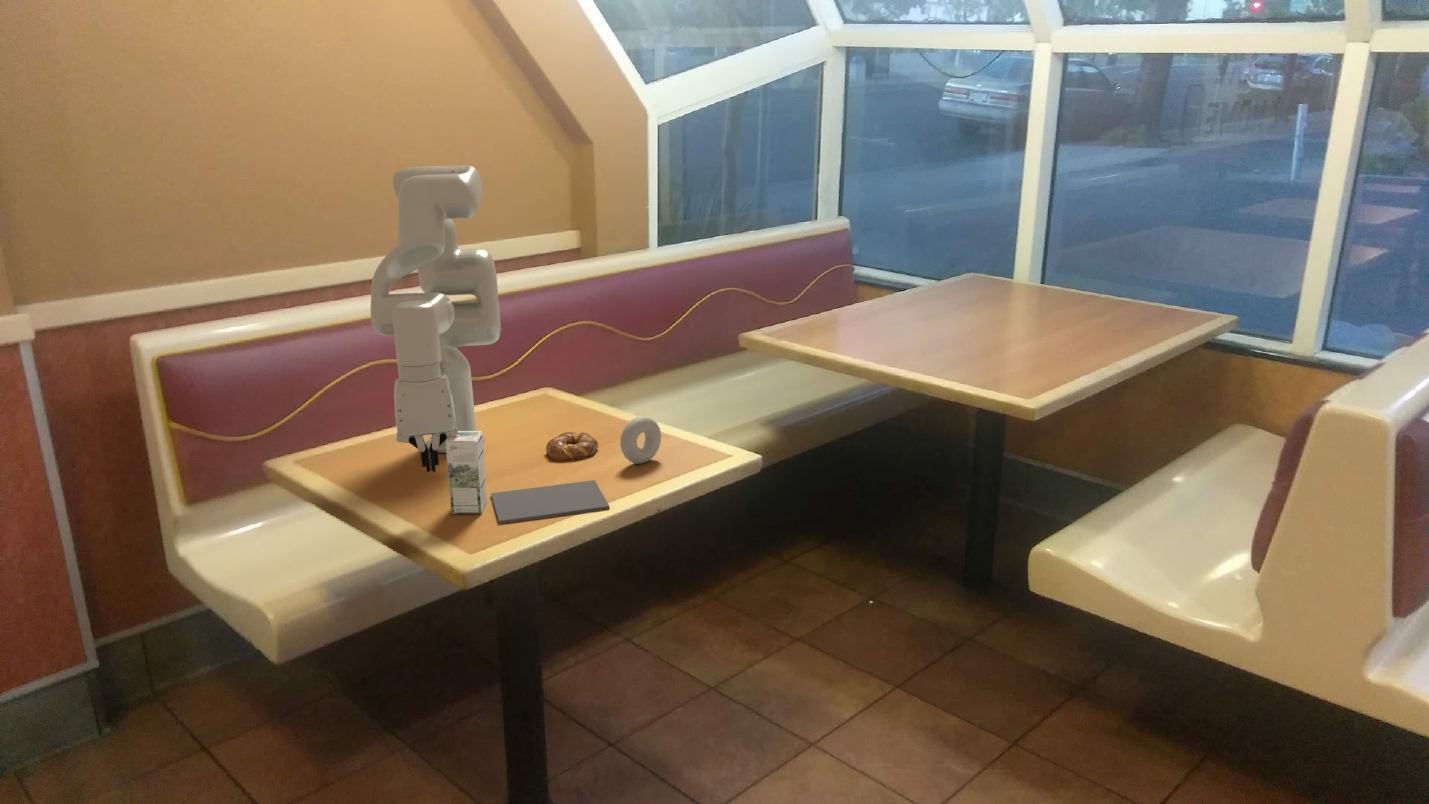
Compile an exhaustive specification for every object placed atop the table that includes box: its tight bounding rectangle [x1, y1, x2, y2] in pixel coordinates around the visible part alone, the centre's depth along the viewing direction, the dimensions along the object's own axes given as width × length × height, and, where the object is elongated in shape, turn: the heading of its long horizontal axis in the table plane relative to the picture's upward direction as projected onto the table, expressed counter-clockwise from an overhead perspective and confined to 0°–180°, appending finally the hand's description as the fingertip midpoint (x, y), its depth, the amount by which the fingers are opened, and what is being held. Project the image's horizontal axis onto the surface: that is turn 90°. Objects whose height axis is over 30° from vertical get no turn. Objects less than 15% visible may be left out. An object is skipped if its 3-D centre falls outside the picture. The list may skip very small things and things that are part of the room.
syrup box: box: [445, 430, 488, 515], centre depth 185 cm, size 6×6×14 cm
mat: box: [490, 479, 610, 525], centre depth 189 cm, size 14×20×1 cm
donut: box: [619, 415, 662, 465], centre depth 208 cm, size 10×4×10 cm, turn 134°
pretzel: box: [545, 431, 599, 462], centre depth 216 cm, size 12×11×4 cm
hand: (431, 469), depth 183 cm, fingers closed
